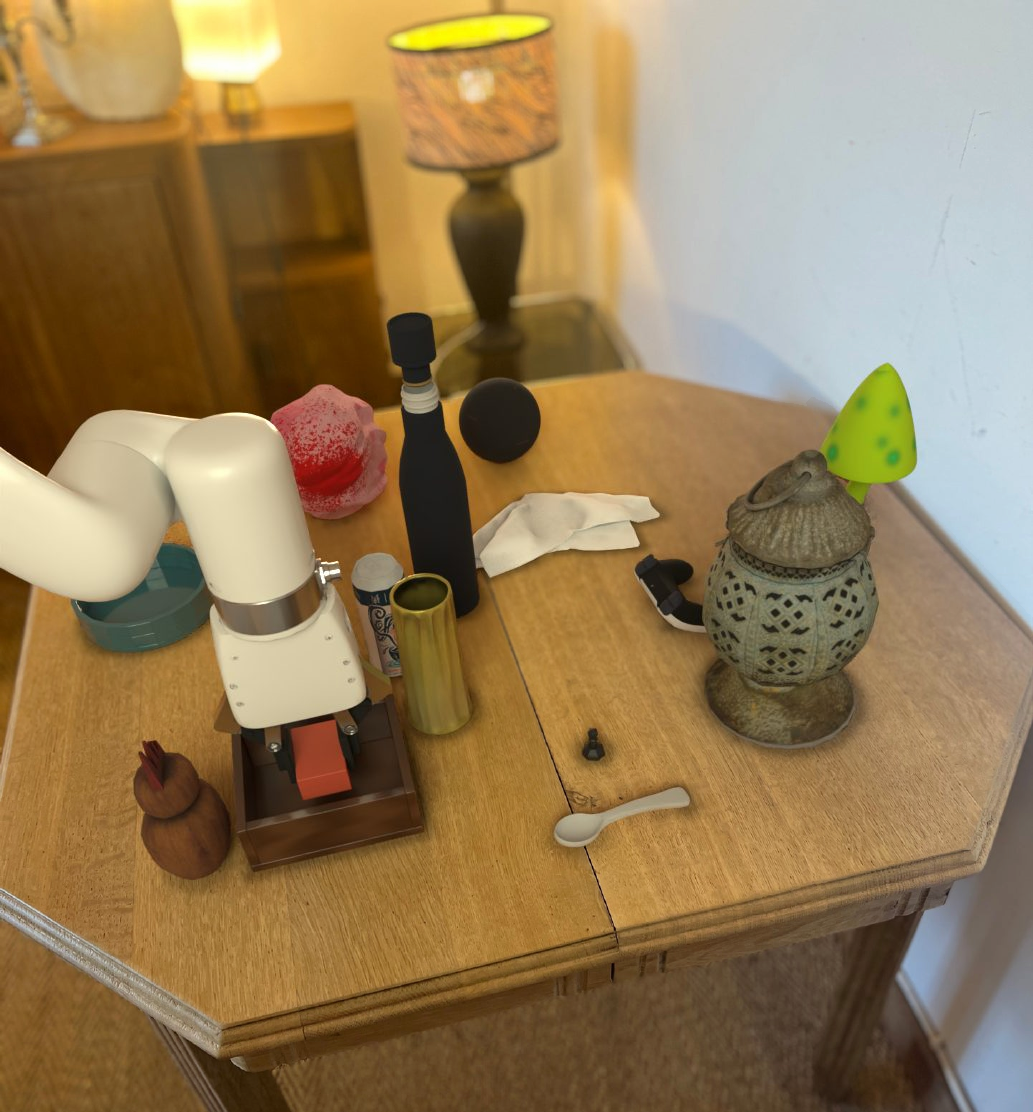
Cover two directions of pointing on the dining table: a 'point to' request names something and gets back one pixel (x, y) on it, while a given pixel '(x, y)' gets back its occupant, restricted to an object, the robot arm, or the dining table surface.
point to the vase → (430, 654)
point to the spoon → (614, 817)
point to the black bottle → (431, 468)
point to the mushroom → (873, 434)
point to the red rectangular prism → (319, 760)
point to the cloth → (558, 527)
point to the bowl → (151, 606)
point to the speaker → (499, 420)
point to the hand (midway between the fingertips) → (322, 763)
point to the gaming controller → (670, 591)
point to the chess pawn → (593, 747)
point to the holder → (325, 797)
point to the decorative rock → (333, 451)
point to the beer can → (378, 608)
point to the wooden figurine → (180, 814)
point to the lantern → (789, 607)
